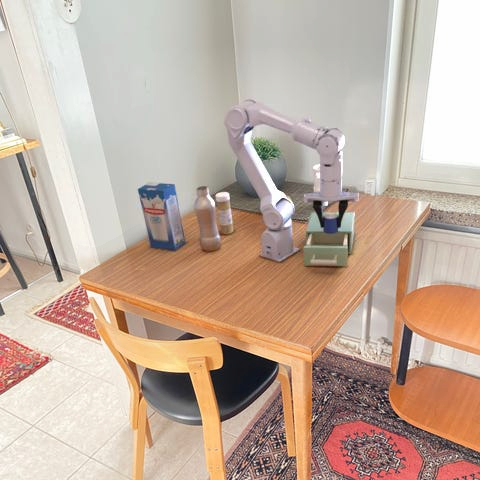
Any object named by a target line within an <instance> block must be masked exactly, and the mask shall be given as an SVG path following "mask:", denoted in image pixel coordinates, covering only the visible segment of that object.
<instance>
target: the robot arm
mask: <svg viewBox="0 0 480 480" xmlns="http://www.w3.org/2000/svg"><path fill="white" fill-rule="evenodd" d="M223 124H224V126H225V128H226V130H227V137H228V143H229V147H230V148H231V151H233V154H234V155H235V157H236V159H237V160H238V162H239V165H240V166H241V168H242V169H243V171H244V173H245V175H246V176H247V178H248V180H249V182H250V184H251V185H252V187H253V189H254V190H255V192H256V194H257V196H258V198H259V199H260V205H259V210H260V212H261V214H262V219H263V220H262V221H263V223H264V225H265V226H266V229H265V230H264V232H263V233H262V234H261V236H260V245H261V253H260V257H262V258H265V259H268V260H272V261H275V262H278V263H281V262H283V261H284V260H286V259H288V258H289V257H291V256H293V255H294V254H296V253H298V252H299V251H300V248H298V247H295V246H294V239H293V221H292V217H293V215H294V214H295V205H294V203H293V201H292V200H291V201H292V202H291V201H290V200H289V199H287V198H286V196H285V195H286V194H285V193H284V192H282V191H280V190H278V189H277V187H276V185H275V183H274V182H273V180H272V178H271V176H270V173H268V171H267V168H266V167H265V165H264V164H263V162H262V160H261V158H260V156H259V154H258V152H257V151H256V148H255V147H254V145H253V143H252V141H251V138H252V134H253V131H254V129H255V127H257V126H260V125H266V126H269V127H271V128H274V129H276V130H279V131H282V132H285V133H288V134H290V135H291V138H292V140H293V141H294V142H297V143H299V144H302V145H304V146H306V147H308V148H311V149H314V150H316V152H317V154H318V155H319V164H320V168H319V170H320V192H317V193H316V192H311V193H304V194H303V203H304V204H308V203H312V209H313V210H314V213H316V214H317V216H318V219H319V222H320V226H321V228H323V213H324V206H323V202H328V203H333V202H335V203H336V202H338V206H337V207H338V208H337V209H338V212H339V219H338V228H341V222H342V218H343V215H344V213H345V212H346V211H347V210H348V207H349V202H354V203H359V199H360V198H359V197H360V196H359V195H360V192H349V191H343V150H342V149H343V148H344V146H345V143H346V136H345V134H344V132H343V131H341V129H338V127H331V128H329V126H328V125H324V126H322V125H320V124H318V123H315V122H313V121H312V118H311V117H306V118H300V119H298V120H296V119H293V118H291V117H289V116H287V115H285V114H283V113H281V112H279V111H278V110H275V109H273V108H272V107H269V106H267V105H265V104H264V103H263V102H261V101H256V100H255V99H252V98H248V99H245V100H244V101H242V102H240V103H238V104H236V105H233V106H231V107H229V108H228V109H227V110H226V114H225V117H224V121H223Z"/></svg>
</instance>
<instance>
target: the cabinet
mask: <svg viewBox="0 0 480 480" xmlns="http://www.w3.org/2000/svg"><path fill="white" fill-rule="evenodd" d="M328 213H329V212H323V216H324V215H325V214H328ZM331 213H335V214H337V215H338V216H339V211H337V212H336V211H335V212H334V211H333V212H331ZM310 233H324V232H323V228H321V226H320V222H319V219H318V216H317V214H316V212H311V214H310V216H309V220H308V223H307V226H306V230H305V245H306V244H307V241H308V238H309V234H310ZM337 233H349V241H348V255H351V254H352V251H353V245H354V238H355V237H354V236H355V212H354V211H353V212H351V211H349V212H348V211H347V212H346V211H345V213H344V215H343V218H342V222H341V228H338V232H337Z"/></svg>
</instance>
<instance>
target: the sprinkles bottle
mask: <svg viewBox="0 0 480 480" xmlns="http://www.w3.org/2000/svg"><path fill="white" fill-rule="evenodd" d="M214 196H215V201H216V206H217V217H218V222H219V227H220V233H221V234H222V235H230V234H232V233H234V226H233V225H234V224H233V216H232V208H231V201H230V200H231V199H230V192H227V191H221V192H218V193H216V194H215V195H214Z"/></svg>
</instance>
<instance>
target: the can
mask: <svg viewBox="0 0 480 480" xmlns="http://www.w3.org/2000/svg"><path fill="white" fill-rule="evenodd" d="M327 213H328V214H325V215H324V216H323V232H324V233H326V234H334V233H337V232H338V219H339V216H338V215H337V214H335V213H332V212H327Z"/></svg>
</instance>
